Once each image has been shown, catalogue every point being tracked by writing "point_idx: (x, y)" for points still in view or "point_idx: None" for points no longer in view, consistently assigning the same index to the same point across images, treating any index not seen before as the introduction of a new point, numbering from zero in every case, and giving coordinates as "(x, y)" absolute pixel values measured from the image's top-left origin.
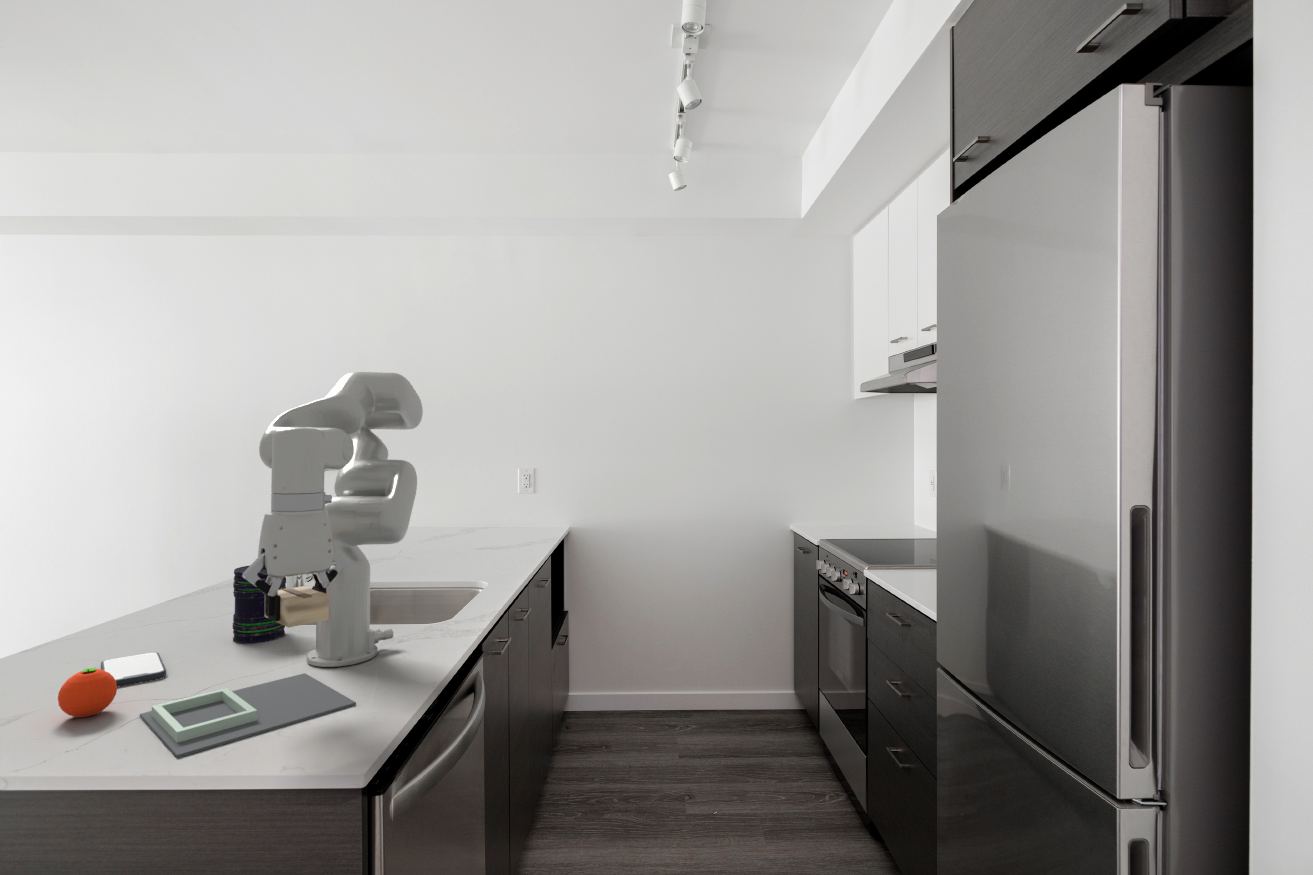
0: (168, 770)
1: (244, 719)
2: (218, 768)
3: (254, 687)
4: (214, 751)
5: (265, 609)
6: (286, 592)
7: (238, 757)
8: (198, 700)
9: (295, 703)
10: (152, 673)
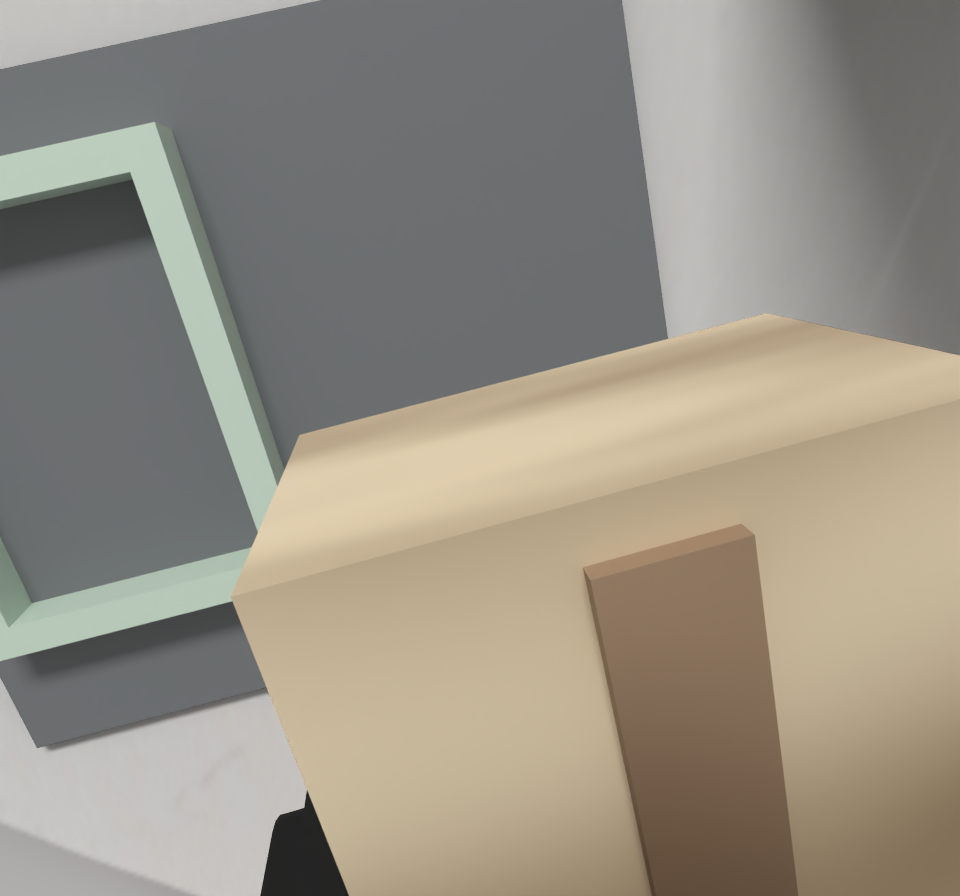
0: (33, 818)
1: None
2: (192, 869)
3: (318, 41)
4: (168, 743)
5: (274, 861)
6: (608, 824)
7: (250, 822)
8: (16, 200)
9: None
10: None
